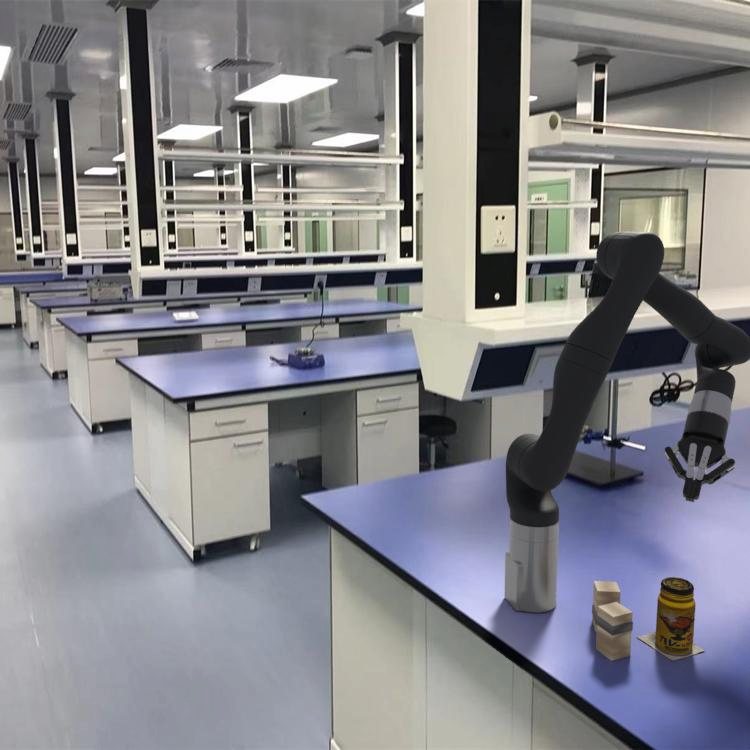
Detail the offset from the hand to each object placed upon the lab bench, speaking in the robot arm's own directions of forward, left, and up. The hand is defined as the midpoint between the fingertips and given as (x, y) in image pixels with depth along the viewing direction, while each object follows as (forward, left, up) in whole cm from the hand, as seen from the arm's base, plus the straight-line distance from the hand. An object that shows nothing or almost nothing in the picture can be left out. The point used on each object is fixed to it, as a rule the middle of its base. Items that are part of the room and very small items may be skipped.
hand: (689, 499), depth 137 cm
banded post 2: (-20, -10, -22) cm, 32 cm away
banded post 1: (-17, -2, -22) cm, 28 cm away
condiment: (-9, -10, -23) cm, 26 cm away
